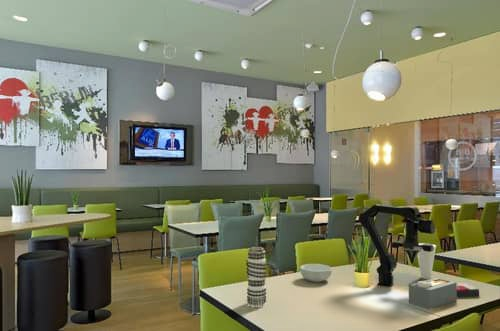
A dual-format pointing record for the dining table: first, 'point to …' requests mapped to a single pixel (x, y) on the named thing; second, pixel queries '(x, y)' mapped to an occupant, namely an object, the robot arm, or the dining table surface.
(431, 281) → the button console
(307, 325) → the dining table surface
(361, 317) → the dining table surface
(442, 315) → the dining table surface
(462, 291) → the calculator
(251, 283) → the decorative candle
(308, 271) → the cereal bowl
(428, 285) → the grey button
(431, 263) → the cup
